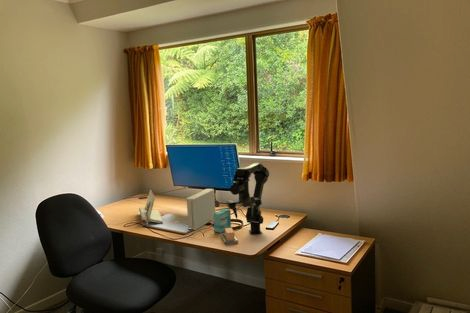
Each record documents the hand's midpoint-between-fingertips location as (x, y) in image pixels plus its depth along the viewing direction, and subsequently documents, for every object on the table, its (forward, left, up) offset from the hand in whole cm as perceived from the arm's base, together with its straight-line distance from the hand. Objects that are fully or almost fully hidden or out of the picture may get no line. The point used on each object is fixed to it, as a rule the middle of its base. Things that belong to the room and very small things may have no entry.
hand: (244, 217), depth 206 cm
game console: (-37, -21, -13) cm, 44 cm away
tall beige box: (-2, -9, -13) cm, 16 cm away
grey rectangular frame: (-2, -9, -13) cm, 16 cm away
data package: (-20, -10, -13) cm, 26 cm away
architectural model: (-58, -53, -13) cm, 80 cm away
